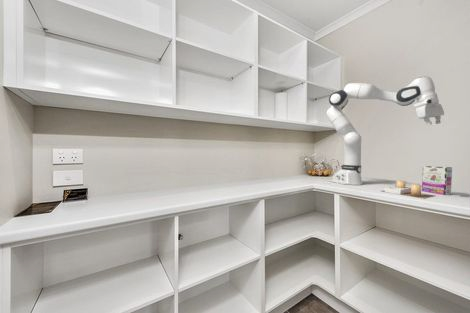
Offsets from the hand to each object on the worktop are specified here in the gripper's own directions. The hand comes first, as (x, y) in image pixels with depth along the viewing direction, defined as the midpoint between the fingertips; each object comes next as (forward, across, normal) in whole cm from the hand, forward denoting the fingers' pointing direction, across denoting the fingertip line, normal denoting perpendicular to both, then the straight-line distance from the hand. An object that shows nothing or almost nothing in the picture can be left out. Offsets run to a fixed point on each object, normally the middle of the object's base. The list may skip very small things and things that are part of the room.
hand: (434, 124), depth 116 cm
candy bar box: (+41, +12, -2) cm, 42 cm away
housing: (+35, +30, -10) cm, 48 cm away
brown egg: (+37, +32, -1) cm, 49 cm away
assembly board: (+37, +30, -6) cm, 48 cm away
